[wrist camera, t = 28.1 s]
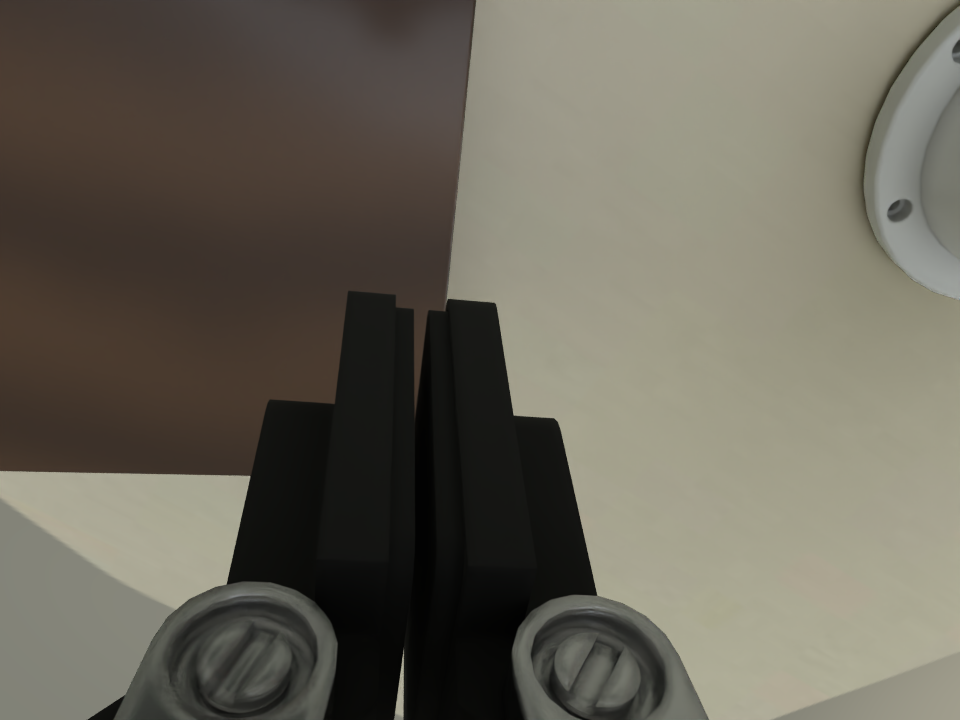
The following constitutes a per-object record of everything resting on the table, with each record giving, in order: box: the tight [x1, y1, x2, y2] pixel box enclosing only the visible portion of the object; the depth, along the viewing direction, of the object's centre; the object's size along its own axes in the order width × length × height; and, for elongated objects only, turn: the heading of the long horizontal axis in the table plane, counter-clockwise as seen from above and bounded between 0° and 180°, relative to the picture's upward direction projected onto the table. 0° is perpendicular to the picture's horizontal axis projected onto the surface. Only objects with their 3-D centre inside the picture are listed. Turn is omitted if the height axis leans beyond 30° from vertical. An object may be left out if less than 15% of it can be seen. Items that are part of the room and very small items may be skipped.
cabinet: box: [0, 0, 476, 476], centre depth 24 cm, size 15×14×9 cm
